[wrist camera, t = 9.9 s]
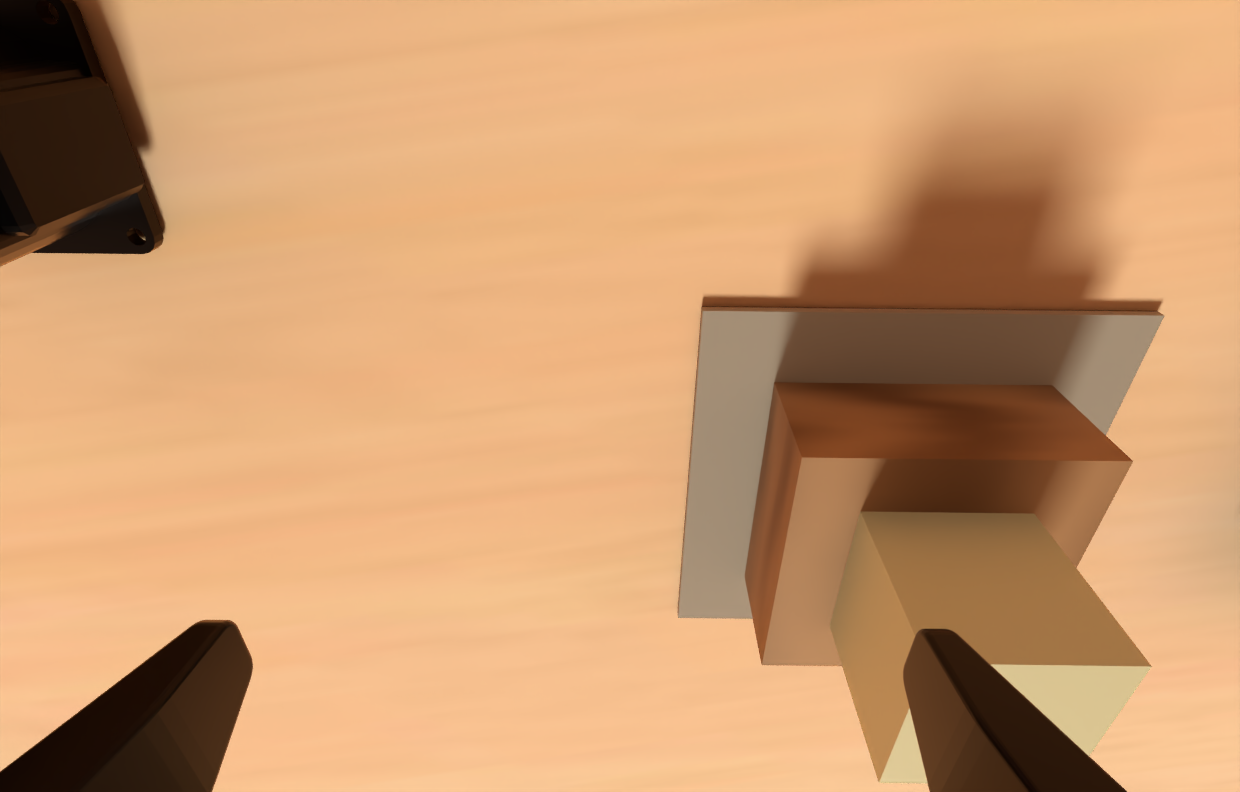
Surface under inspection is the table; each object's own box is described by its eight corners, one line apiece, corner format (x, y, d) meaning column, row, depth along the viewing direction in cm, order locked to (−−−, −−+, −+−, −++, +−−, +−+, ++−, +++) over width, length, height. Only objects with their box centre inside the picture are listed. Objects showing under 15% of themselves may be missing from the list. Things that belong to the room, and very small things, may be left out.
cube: (829, 626, 22) (879, 782, 17) (860, 511, 19) (927, 663, 15) (981, 627, 22) (1069, 785, 17) (1034, 513, 19) (1151, 666, 15)
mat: (677, 611, 28) (678, 617, 27) (702, 306, 20) (702, 310, 20) (1010, 616, 28) (1014, 621, 27) (1158, 311, 20) (1164, 315, 20)
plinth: (744, 576, 26) (761, 665, 23) (774, 382, 21) (801, 457, 18) (971, 579, 26) (1022, 668, 23) (1052, 385, 21) (1132, 461, 18)
